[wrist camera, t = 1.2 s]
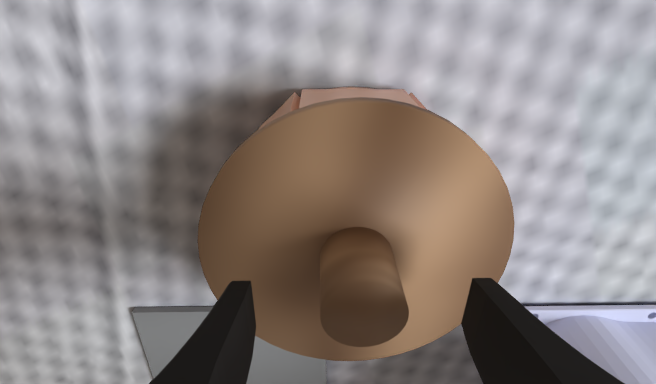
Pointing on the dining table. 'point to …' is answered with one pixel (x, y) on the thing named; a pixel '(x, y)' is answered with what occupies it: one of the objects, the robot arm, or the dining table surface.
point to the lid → (356, 227)
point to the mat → (181, 322)
